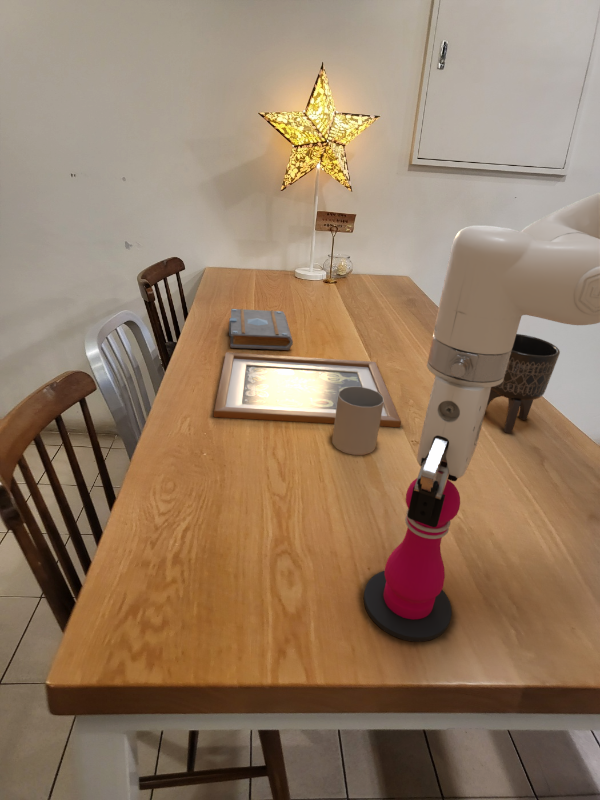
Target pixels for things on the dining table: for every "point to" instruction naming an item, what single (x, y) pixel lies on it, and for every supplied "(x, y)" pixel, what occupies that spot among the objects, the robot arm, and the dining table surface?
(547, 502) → the dining table surface
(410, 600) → the pepper mill
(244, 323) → the book
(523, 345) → the planter
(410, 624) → the trivet
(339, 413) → the cup
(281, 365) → the wall art
